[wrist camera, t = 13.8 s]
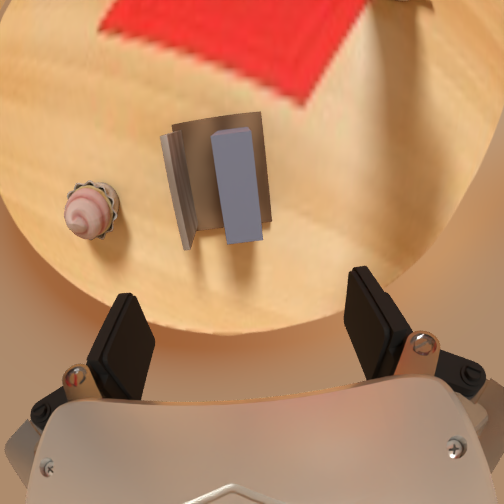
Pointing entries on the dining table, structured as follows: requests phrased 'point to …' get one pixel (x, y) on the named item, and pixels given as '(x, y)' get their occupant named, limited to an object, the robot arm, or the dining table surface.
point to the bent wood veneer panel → (207, 172)
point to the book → (237, 184)
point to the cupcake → (91, 210)
